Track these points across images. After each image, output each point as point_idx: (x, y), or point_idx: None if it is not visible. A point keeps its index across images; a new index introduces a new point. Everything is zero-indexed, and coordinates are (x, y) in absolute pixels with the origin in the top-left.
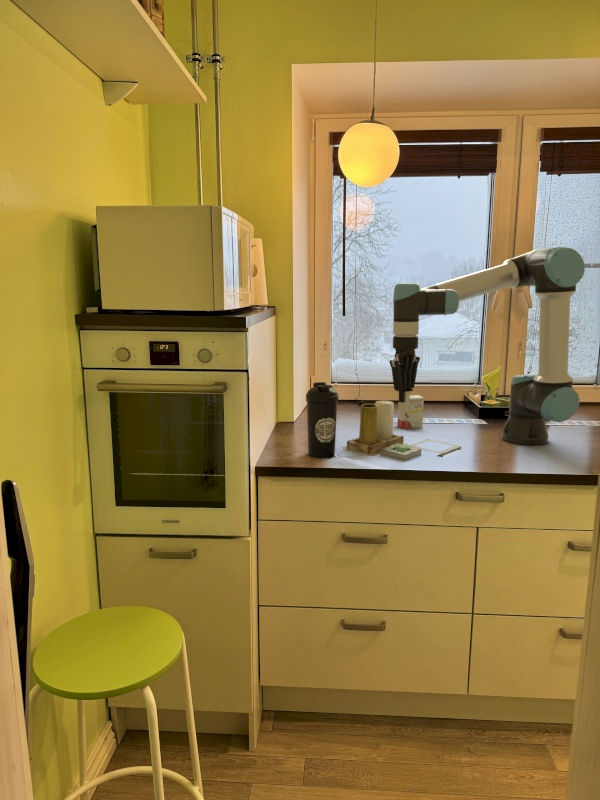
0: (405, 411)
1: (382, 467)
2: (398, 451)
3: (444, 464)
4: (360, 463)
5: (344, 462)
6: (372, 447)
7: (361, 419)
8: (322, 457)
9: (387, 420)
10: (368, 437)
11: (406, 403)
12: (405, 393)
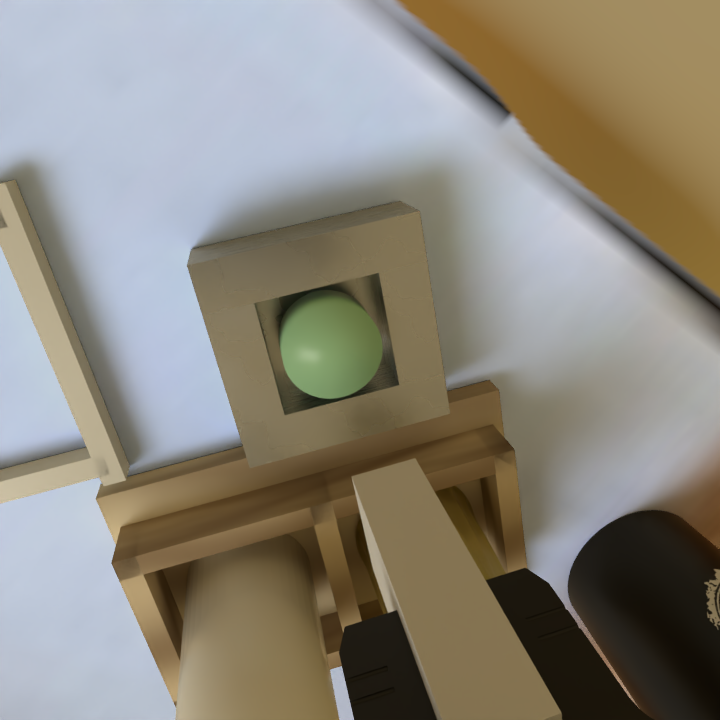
0: (424, 477)
1: (556, 232)
2: (394, 305)
3: (128, 17)
4: (594, 362)
5: (643, 417)
6: (487, 451)
7: None
8: (682, 519)
9: (283, 674)
10: (482, 543)
11: (460, 543)
12: (547, 704)
